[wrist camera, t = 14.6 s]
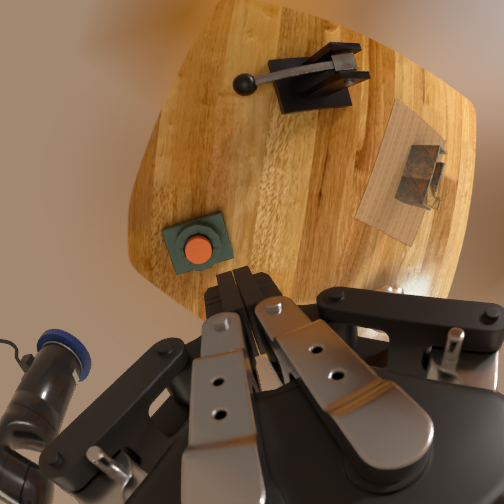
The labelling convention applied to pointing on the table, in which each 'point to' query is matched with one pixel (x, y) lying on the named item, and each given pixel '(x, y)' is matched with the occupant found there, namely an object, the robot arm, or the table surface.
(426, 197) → the architectural model on board
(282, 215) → the table surface
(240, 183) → the table surface
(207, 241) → the button
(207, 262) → the button box
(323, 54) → the bracket
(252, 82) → the lever
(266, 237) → the table surface
